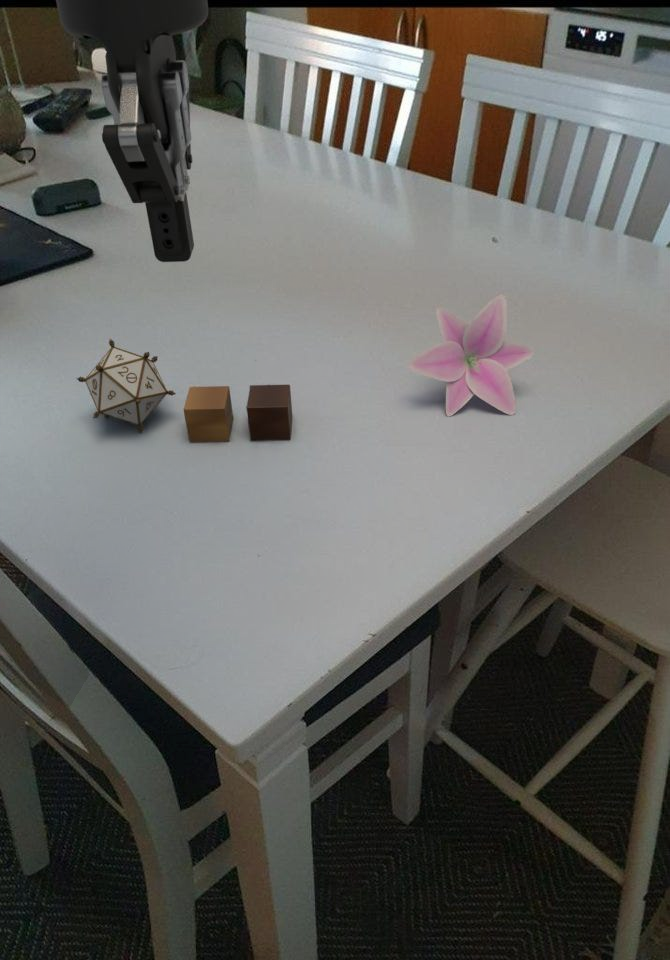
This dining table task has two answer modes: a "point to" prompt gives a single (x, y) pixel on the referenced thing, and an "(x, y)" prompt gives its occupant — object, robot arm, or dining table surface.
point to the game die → (125, 386)
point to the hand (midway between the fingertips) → (175, 256)
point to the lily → (474, 358)
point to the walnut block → (269, 412)
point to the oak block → (208, 414)
